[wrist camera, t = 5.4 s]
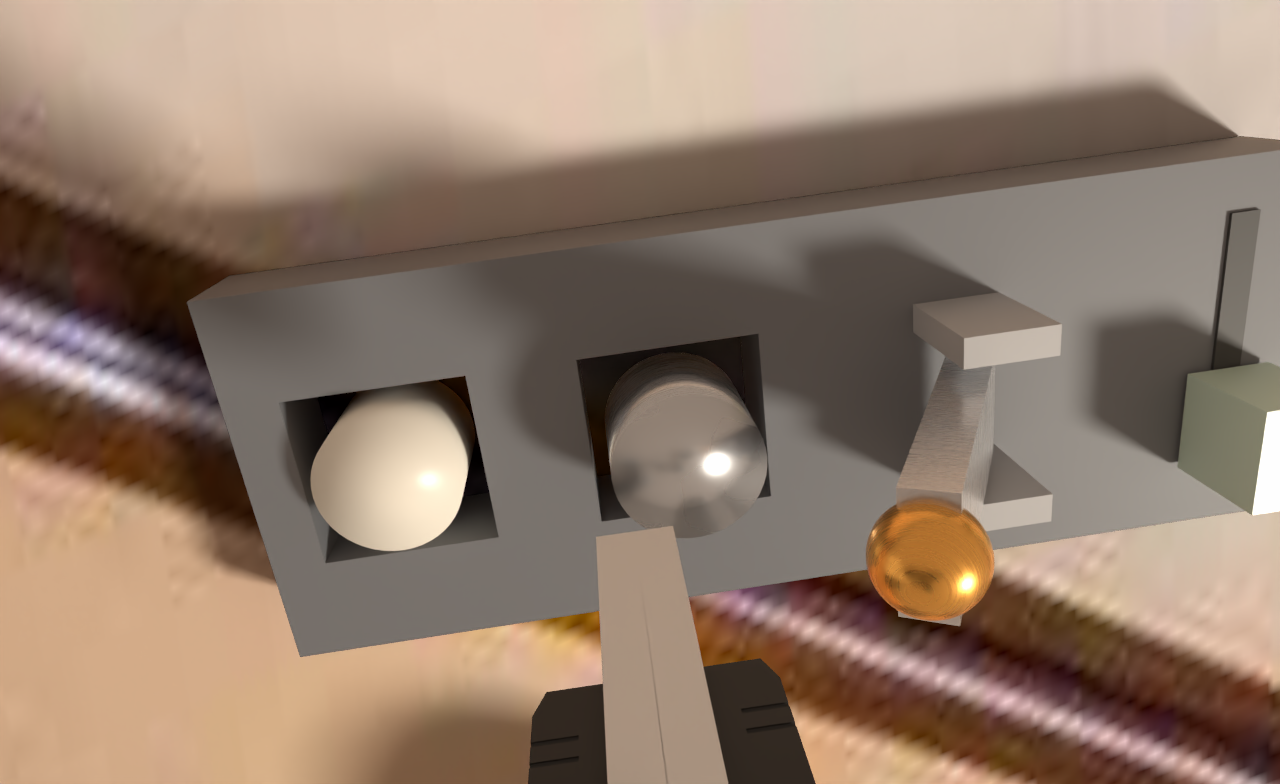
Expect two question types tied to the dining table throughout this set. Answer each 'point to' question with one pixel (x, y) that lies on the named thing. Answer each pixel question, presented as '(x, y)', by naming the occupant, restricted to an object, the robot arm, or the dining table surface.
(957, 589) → the lever
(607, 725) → the robot arm
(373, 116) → the dining table surface
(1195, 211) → the panel
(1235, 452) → the slider
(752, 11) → the dining table surface
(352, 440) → the ivory button
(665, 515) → the grey button
